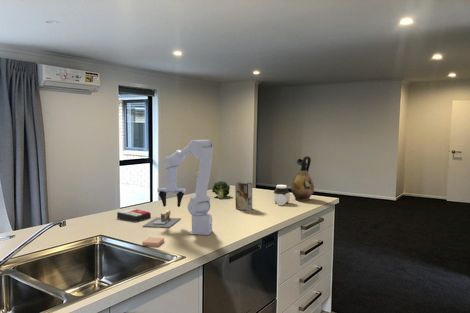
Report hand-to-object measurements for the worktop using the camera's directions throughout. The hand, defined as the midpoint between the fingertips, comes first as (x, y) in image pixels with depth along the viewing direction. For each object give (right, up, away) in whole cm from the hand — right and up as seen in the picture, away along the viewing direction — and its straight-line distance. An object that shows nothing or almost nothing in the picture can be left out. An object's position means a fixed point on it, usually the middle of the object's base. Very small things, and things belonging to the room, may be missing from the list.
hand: (171, 206), depth 188 cm
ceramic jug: (+80, -4, +64) cm, 103 cm away
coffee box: (+38, -7, +36) cm, 53 cm away
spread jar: (+63, -5, +51) cm, 81 cm away
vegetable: (+23, -4, +76) cm, 79 cm away
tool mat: (-6, -9, +4) cm, 11 cm away
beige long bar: (-5, -9, +6) cm, 12 cm away
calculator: (-24, -9, +15) cm, 29 cm away
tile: (-2, -11, -27) cm, 29 cm away
